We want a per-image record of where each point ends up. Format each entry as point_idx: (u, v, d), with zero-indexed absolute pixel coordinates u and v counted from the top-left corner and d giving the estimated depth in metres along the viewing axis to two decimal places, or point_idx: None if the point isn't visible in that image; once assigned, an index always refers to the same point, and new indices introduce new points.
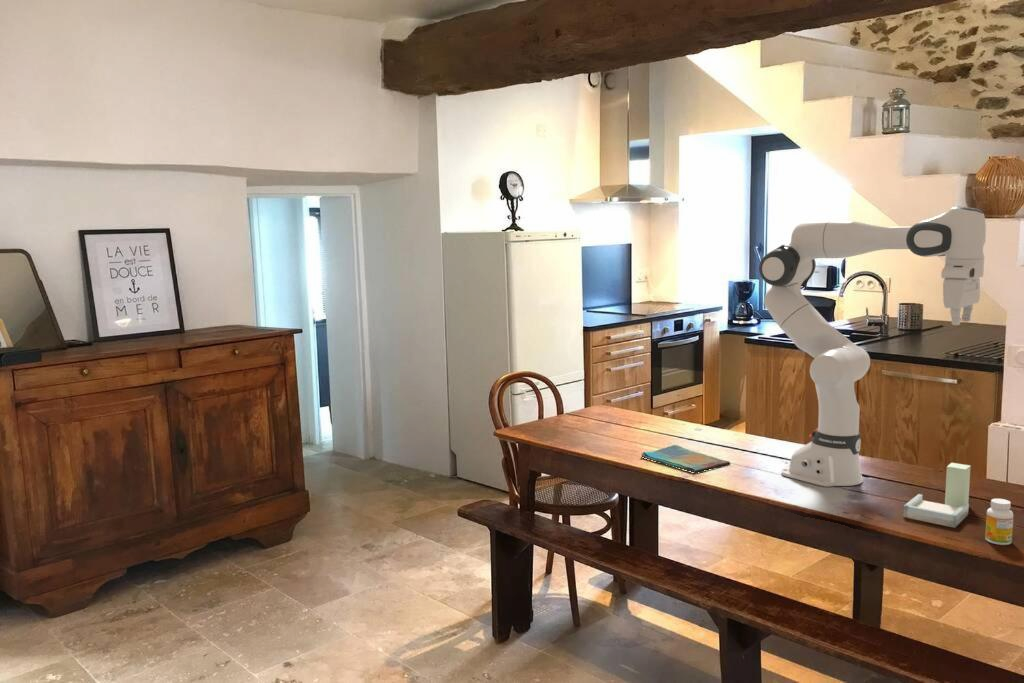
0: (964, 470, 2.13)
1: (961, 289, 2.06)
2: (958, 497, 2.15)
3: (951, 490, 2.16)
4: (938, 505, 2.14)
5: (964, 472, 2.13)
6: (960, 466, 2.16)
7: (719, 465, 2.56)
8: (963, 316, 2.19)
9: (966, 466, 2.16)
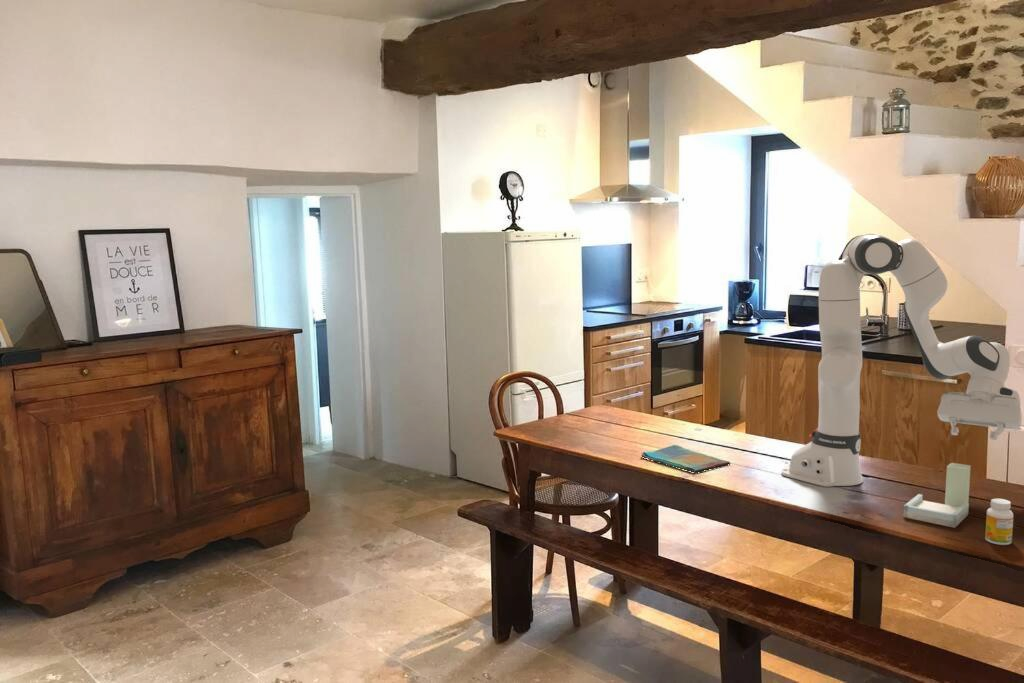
0: (964, 470, 2.13)
1: (1021, 416, 2.23)
2: (958, 497, 2.15)
3: (951, 490, 2.16)
4: (938, 505, 2.14)
5: (964, 472, 2.13)
6: (960, 466, 2.16)
7: (719, 465, 2.56)
8: (957, 429, 2.27)
9: (966, 466, 2.16)
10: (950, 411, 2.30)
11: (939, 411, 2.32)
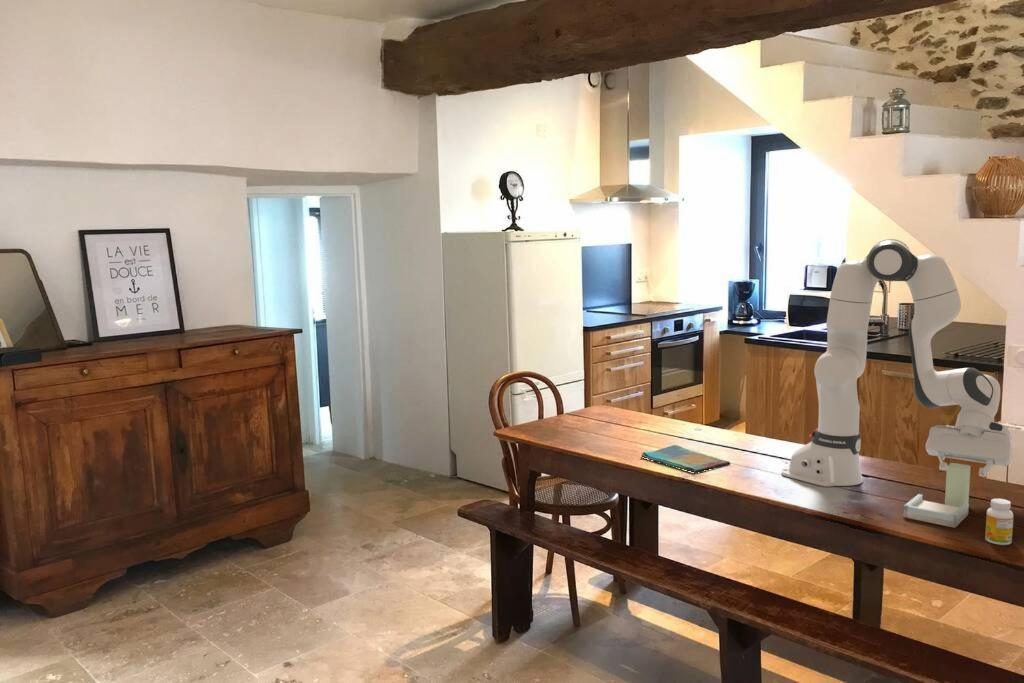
0: (964, 470, 2.13)
1: (1011, 452, 2.17)
2: (958, 497, 2.15)
3: (951, 490, 2.16)
4: (938, 505, 2.14)
5: (964, 472, 2.13)
6: (960, 466, 2.16)
7: (719, 465, 2.56)
8: (946, 464, 2.21)
9: (966, 466, 2.16)
10: (939, 446, 2.24)
11: (927, 445, 2.26)
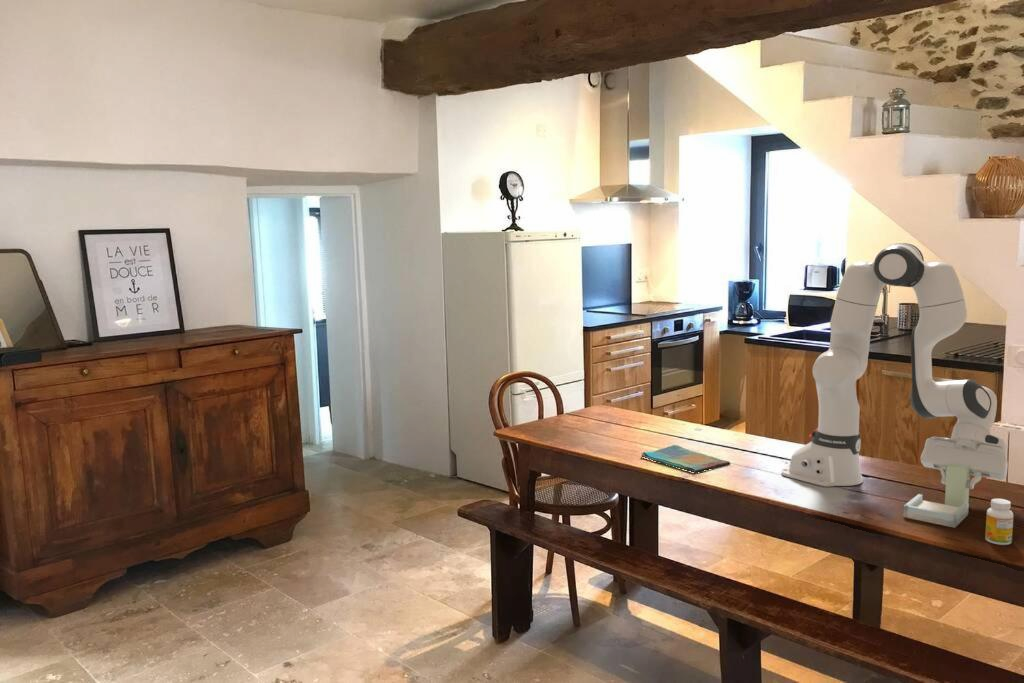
0: (964, 470, 2.13)
1: (1007, 465, 2.15)
2: (958, 497, 2.15)
3: (951, 490, 2.16)
4: (938, 505, 2.14)
5: (964, 472, 2.13)
6: (959, 466, 2.16)
7: (719, 465, 2.56)
8: None
9: (966, 466, 2.16)
10: (934, 458, 2.22)
11: (922, 457, 2.24)
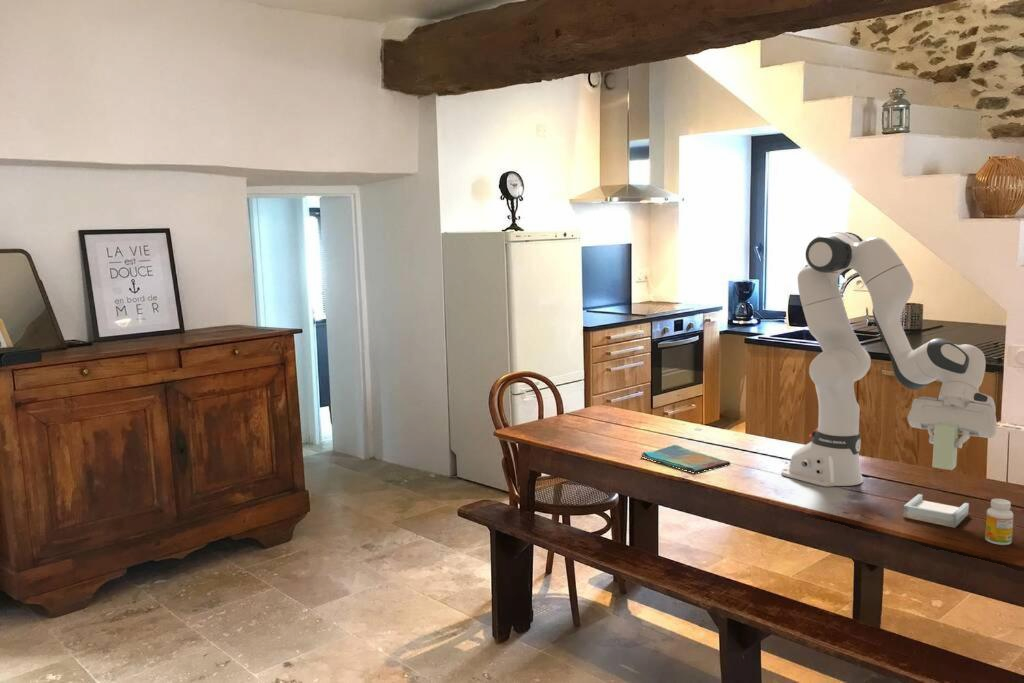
0: (952, 428, 2.07)
1: (996, 424, 2.09)
2: (946, 456, 2.08)
3: (939, 449, 2.09)
4: (938, 505, 2.14)
5: (952, 430, 2.07)
6: (948, 425, 2.09)
7: (719, 465, 2.56)
8: None
9: (954, 425, 2.09)
10: (921, 417, 2.15)
11: (909, 417, 2.17)
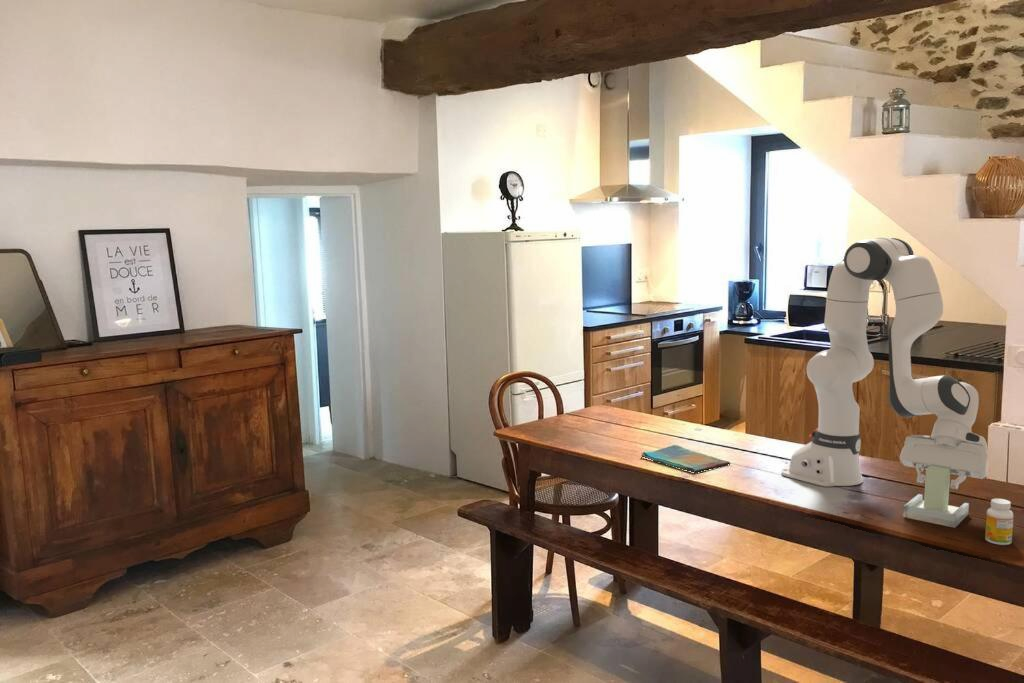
0: (944, 473, 2.06)
1: (988, 464, 2.08)
2: (937, 500, 2.08)
3: (930, 493, 2.09)
4: None
5: (944, 475, 2.06)
6: (939, 468, 2.09)
7: (719, 465, 2.56)
8: (924, 476, 2.12)
9: (946, 468, 2.09)
10: (914, 456, 2.15)
11: (902, 455, 2.17)
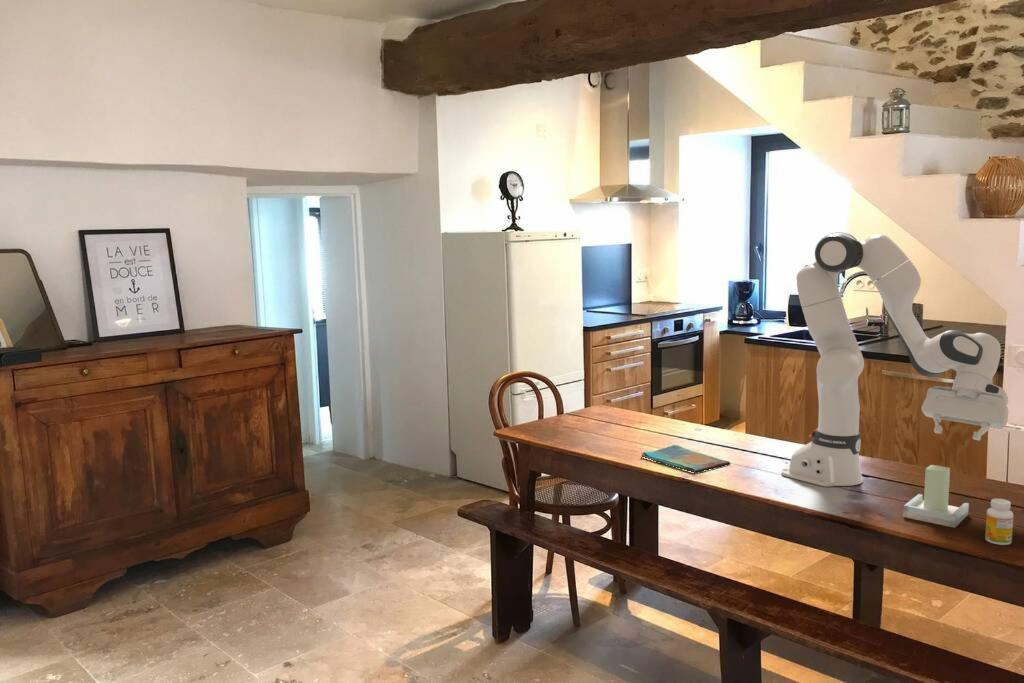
0: (943, 472, 2.06)
1: None
2: (937, 500, 2.08)
3: (930, 493, 2.09)
4: None
5: (943, 475, 2.06)
6: (939, 468, 2.09)
7: (719, 465, 2.56)
8: (941, 427, 2.20)
9: (945, 468, 2.09)
10: (935, 408, 2.23)
11: (923, 407, 2.25)
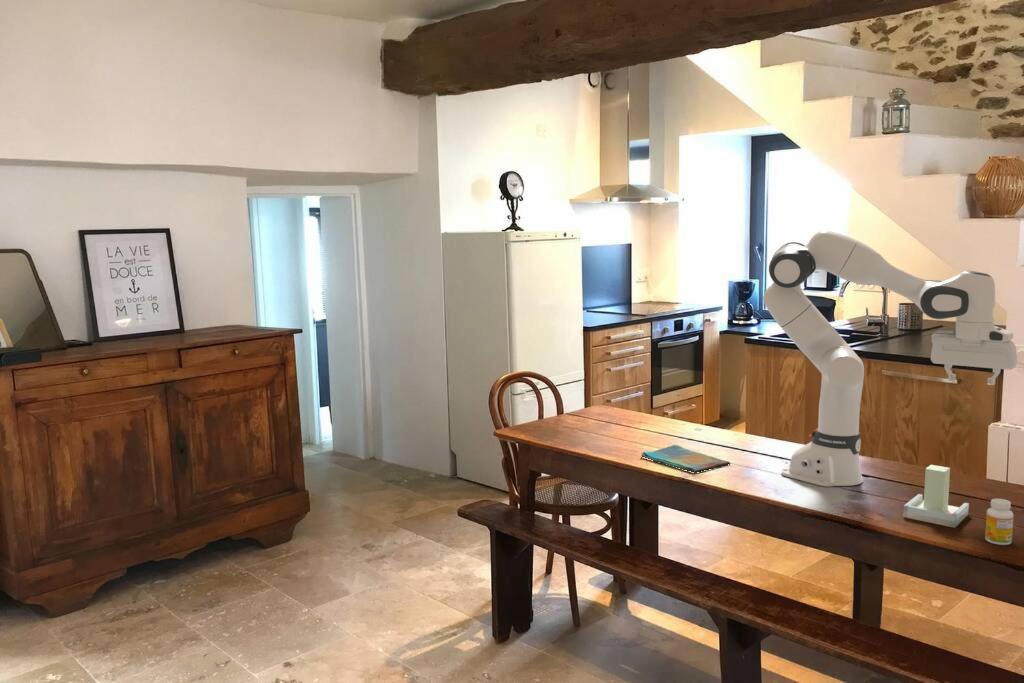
0: (943, 472, 2.06)
1: (1015, 350, 2.17)
2: (937, 500, 2.08)
3: (930, 493, 2.09)
4: None
5: (943, 475, 2.06)
6: (939, 468, 2.09)
7: (719, 465, 2.56)
8: (954, 376, 2.25)
9: (945, 468, 2.09)
10: (944, 359, 2.25)
11: (932, 359, 2.27)
